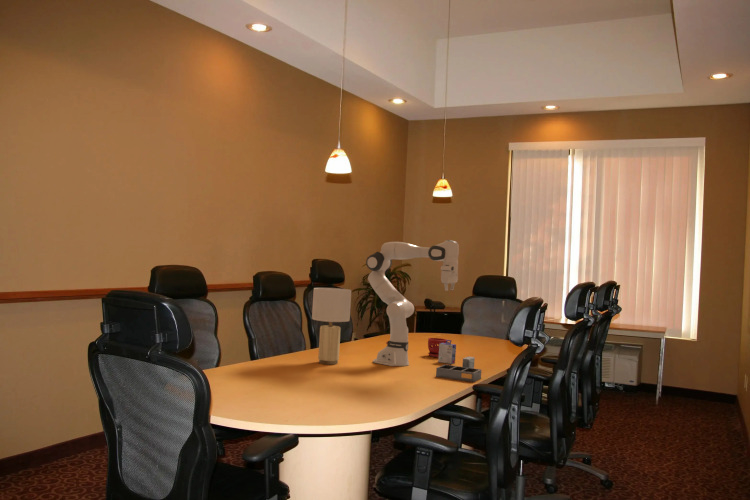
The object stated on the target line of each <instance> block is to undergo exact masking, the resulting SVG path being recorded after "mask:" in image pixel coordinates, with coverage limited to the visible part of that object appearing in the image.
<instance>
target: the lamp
mask: <svg viewBox="0 0 750 500" xmlns="http://www.w3.org/2000/svg"><path fill="white" fill-rule="evenodd" d="M312 293H313V294H312V295H313V296H312V310H311V313H312V314H311V319H312V320H314V321H319V322H326V323H328V324H327V325H324V324H323V325H320V327H319V340H318V341H319V343H318V358H317V360H318V363H319V364H321V365H326V366H335V365H338V362H339V360H340V359H339V358H340V344H341V343H340V342H341V329H342V328H341V326H339V325H333V323H342V322H343V323H345V322H350V319H351V306H352V305H351V304H352V289H349V288H348V289H346V288H338V287H337V288H336V287H313V292H312Z"/></svg>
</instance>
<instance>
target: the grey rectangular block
mask: <svg viewBox="0 0 750 500" xmlns="http://www.w3.org/2000/svg"><path fill="white" fill-rule="evenodd" d="M475 359H476V358H475V356H466V357H464V358H462V366H461V367H467V368H474V369H475V361H476V360H475Z"/></svg>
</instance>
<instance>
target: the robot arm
mask: <svg viewBox="0 0 750 500" xmlns="http://www.w3.org/2000/svg"><path fill="white" fill-rule="evenodd" d="M459 248H460V246H459V243H458V241H455V240H450V239H446V240H444V241H443V242H441V243H438V244H435V245H432V246H430V247H429V246H428V247H425V246H419V245H415V244H411V243H408V242H404V241H403V242H402V241H388V242H384V243H383V244H381V248H380V251H376V252H374V253H372V254H370V255H369V256H367V258H366V259H365V265H366V267H367V269H369V271H371V272H370V273H369V274H368V276H367V280H368V283H369V285H370V286H371V287H372V289H373V290H374V292H375V294H376V295H377V296H378V297H379V298H380V299H381V301H382V302H383V303H385V304H386V305H387V307H386V310H385V311H386V315H387V316H388V321H389V326H390V327H389V328H390V333H389V336H390V337H389V340H387V341H386V343H385V344H386V346H385V347H384V348H382V349H381V350H379V351H378V352H377V356H376V358H374V359H373V360H372V363H376V364H380V365H384V366H390V367H396V366H397V367H406V366H409V365H410V363H409V353H408V350H409V327H408V326H407V325H408V324H407V318H410V317H411V316H412V315H413V314H414V313H415V306H414V304H413V303H412V302H411V301H409V300H408V299H407V298H406V297H405V296H404V295H403V294H401V292H400V291H398V290H397V289H396V288H395V286H394V285H393V284H392V283H391V281H390V280H389V279H388V278H387V277H386V274H388V272H389V270H390V269H391V267H392V265H393V260H399V261H400V260H401V261H402V260H410V259H416V258H429V259H430V260H432V261H435V262H442V265H441V266H440V281H441V284H443V286H444V291H445V292H448V291H449V290H450V291H454V288H455V285H456V283H458V281H459V272H458V271H459V255H460V249H459ZM449 284H450V287H449Z"/></svg>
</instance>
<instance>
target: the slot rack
mask: <svg viewBox="0 0 750 500" xmlns="http://www.w3.org/2000/svg"><path fill="white" fill-rule="evenodd" d="M435 372H436V373H435V378H442V379H450V380H456V381H462V382H470V383H475V382H477V381H478V380H481V379H482V369H479V368H475V367H474V368H467V367H462V366H457V365H453V364H447V363H444V364H442V365H440V366H438V367H436V370H435Z"/></svg>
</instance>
